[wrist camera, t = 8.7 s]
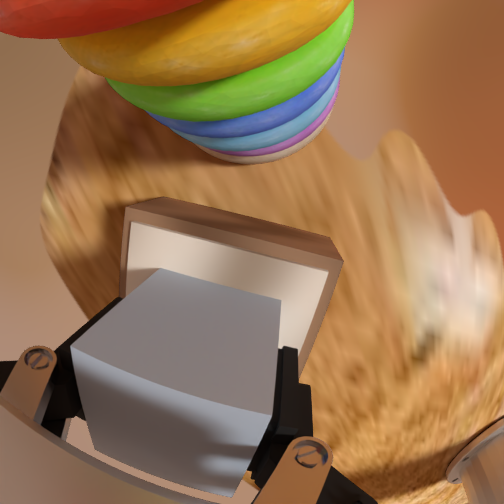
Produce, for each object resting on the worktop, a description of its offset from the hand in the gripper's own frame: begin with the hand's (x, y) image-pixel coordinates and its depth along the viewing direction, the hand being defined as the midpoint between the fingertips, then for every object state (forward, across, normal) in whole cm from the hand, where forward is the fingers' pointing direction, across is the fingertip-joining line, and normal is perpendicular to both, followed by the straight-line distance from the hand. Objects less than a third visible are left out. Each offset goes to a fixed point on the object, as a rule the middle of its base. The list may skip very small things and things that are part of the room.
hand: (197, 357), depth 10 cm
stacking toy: (+6, +1, -11) cm, 13 cm away
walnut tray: (+6, 0, 0) cm, 6 cm away
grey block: (+2, 0, 0) cm, 2 cm away
